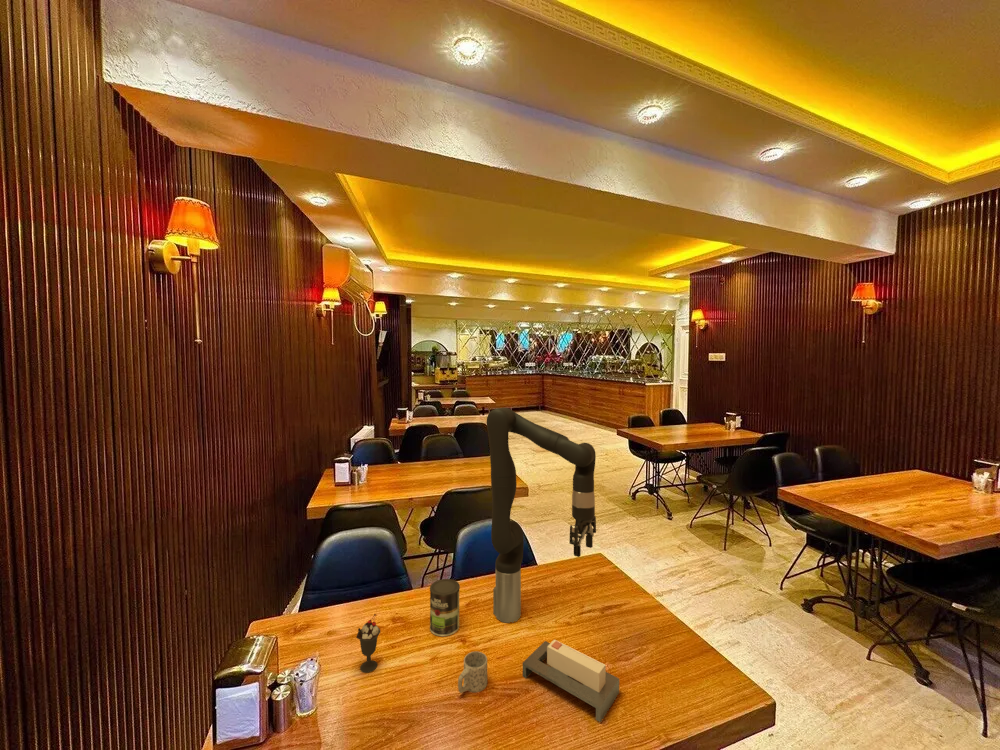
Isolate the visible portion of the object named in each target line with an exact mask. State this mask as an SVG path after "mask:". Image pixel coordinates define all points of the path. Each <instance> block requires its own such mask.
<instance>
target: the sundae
mask: <svg viewBox="0 0 1000 750" xmlns="http://www.w3.org/2000/svg"><path fill="white" fill-rule="evenodd" d="M376 616H377V614H376V613H374V614H373V616H372V618H370V620H368V621H367V622H366V623H364V624H363V626H362V627H361V628H360V627H358V628H357V631H358V632H357V634H356V639H357V640H359V643H360V650H361V654H362V655H363V656H364V657H366V660H365V661H364V662H362V664H361V665H360V667H359V670H360V671H361V672H362V673H364V674H366V673H367V674H368V673H371V672H373V671H375V670H377V667H378V662H377V661H376V660H374V659H373V660H372V655H373V654H374V653H375V652H376V650H377V645H378V644H377V643H378V637H379V635H380V634H381V629H380V628H379V626H378V625H377V623H376V621H373V620H374V619H375V617H376Z"/></svg>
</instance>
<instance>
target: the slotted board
mask: <svg viewBox="0 0 1000 750" xmlns="http://www.w3.org/2000/svg"><path fill="white" fill-rule="evenodd" d="M550 643H551V642H548V641H546V640H544V641H543V642H542V643H541V644H540V645H539V647H537V648H536V649H535V650H534V651H533V652H532V653H531V654H530V655H529V656H528V657H527V658H526V659H525V660H524V661H523V662H522V677H523V678H524V679H527V678H528V677H529V676H530V675H531V674H532V673H535V674H537V675H538V676H540V677H541V678H544V679H545V680H546V681H549V682H550V683H551V684H554V685H555V686H557V687H559V688H560V689H562V690H564V691H566V692H567V693H569V694H571V695H572V696H574V697H577V698H578V699H579V700H581V701H583V702H585V703H586V704H588V705H590V706H592V707H593V708H595V721H596V720H597V721H599V722H601V723H602V721H603V720H604V718H605V717H606V715H607V713H608V712H609V710H610V709H611V707H612V705H613V704H614V703H615V701H616V699H617V698H616V697H618V696H619V694H620V678H619V677H617V676H615V675H613V674H611V673H609V672H607V671H605V685H604V686H603V688H602V689H601V691H600V692H597V691H595V690H593V689H591V688H590V687H588V686H586V685H584V684H582V683H581V682H579V681H577V680H575V679H573V678H572V677H570V676H568V675H566V674H564V673H563V672H561V671H559V670H557V669H555V668H553V667H552V666H550V665H548V664H547V663H544V660H546V659H547V646H548V645H549V644H550ZM617 695H618V696H617ZM614 700H615V701H614ZM609 708H610V709H609ZM607 711H608V712H607ZM604 716H605V717H604ZM602 719H603V720H602ZM597 721H596V722H597ZM599 722H598V723H599Z"/></svg>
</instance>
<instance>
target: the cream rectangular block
mask: <svg viewBox="0 0 1000 750" xmlns="http://www.w3.org/2000/svg"><path fill="white" fill-rule="evenodd" d="M549 643H550V644H549V645H548V646H547V657H546V665H548V666H550V667H553V668H555V669H557V670H559V671H561V672H563V673H564V674H566V675H568V676H570V678H571V679H573V680H575V681H577V682H579V683H580V684H582V685H583V684H584V685H586V686H588V687H590V688H591V689H593V690H595V691H597V692H600V691H601V689H602V688H603V686H604V685H605V672H606V664H605V663H603V662H600V661H598V660H597V659H595V658H593V657H590V656H588V655H587V654H585V653H583V652H580V651H578V650H576V649H575V648H572V647H571V646H569V645H567V644H564V643H563V642H560V641H559V640H556V639H555V638H554V639H553V640H552V641H551V642H549Z"/></svg>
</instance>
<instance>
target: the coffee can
mask: <svg viewBox="0 0 1000 750" xmlns="http://www.w3.org/2000/svg"><path fill="white" fill-rule="evenodd" d="M429 586H430V587H429V591H430V596H429V598H430V599H429V601H430V602H429V605H430V607H429V610H430V611H429V631H430V632H431V634H433V635H434V636H436V637H442V638H443V637H450V636H451V635H454V634H455V633H457V632H458V631H459V629H460V589H461V585H460V582H458V581H457V580H455V579H451V578H442V579H441V578H440V579H439V580H436V581H434V582H432V584H430V585H429Z"/></svg>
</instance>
